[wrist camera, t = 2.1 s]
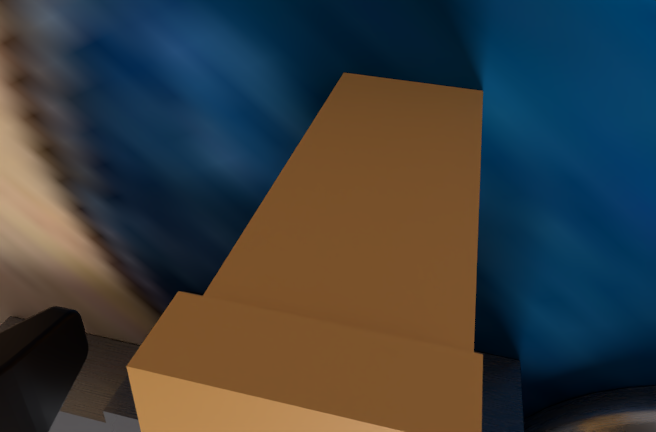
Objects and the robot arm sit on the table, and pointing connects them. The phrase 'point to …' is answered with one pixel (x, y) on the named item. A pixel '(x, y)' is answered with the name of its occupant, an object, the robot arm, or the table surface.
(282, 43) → the table surface
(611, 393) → the ring lock bracket
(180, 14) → the table surface
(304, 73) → the table surface
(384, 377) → the tan stepped block
